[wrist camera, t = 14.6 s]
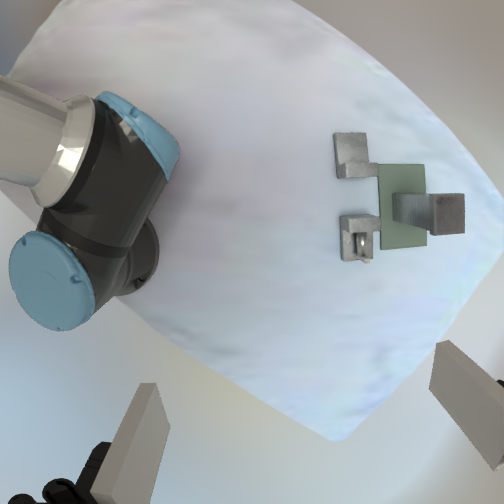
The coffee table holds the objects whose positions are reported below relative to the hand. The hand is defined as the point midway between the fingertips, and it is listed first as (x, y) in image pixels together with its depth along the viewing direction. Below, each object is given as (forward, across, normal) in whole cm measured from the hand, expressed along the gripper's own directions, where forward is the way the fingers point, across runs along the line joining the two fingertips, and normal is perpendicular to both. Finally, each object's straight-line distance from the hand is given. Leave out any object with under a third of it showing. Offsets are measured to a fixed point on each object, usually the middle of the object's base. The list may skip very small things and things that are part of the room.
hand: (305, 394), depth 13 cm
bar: (+38, +24, +4) cm, 45 cm away
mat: (+38, +24, +4) cm, 45 cm away
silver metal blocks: (+38, +15, +6) cm, 42 cm away
